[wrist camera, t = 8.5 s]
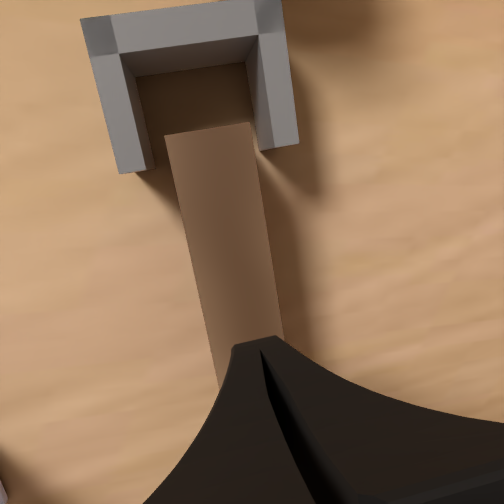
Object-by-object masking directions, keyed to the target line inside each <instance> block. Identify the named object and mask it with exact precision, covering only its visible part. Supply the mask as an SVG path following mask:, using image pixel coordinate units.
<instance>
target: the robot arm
mask: <svg viewBox="0 0 504 504" xmlns="http://www.w3.org/2000/svg"><path fill="white" fill-rule="evenodd" d="M7 501H8V497H7V495H6V492H5V490H4V487H3V485H2V483H1V480H0V504H6V503H7ZM143 504H504V423H499V422H493V421H486V420H480V419H474V418H467V417H462V416H457V415H453V414H449V413H444V412H440V411H435V410H431V409H427V408H423V407H420V406H416V405H412V404H409V403H406V402H403V401H400V400H396V399H393V398H390V397H387V396H384V395H381V394H379V393H376V392H373V391H371V390H368V389H366V388H364V387H361V386H359V385H357V384H354V383H352V382H350V381H348V380H346V379H344V378H341V377H339V376H338V375H336V374H334V373H332V372H330V371H328V370H327V369H325V368H323V367H321V366H320V365H318V364H316V363H315V362H313V361H312V360H310V359H309V358H307V357H306V356H304V355H303V354H301V353H300V352H298V351H297V350H296V349H294V348H293V347H291V346H290V345H289V344H287V343H286V342H285V341H283V340H282V339H281V338H279V337H278V336H276V335H273V336H269V337H265V338H260V339H256V340H252V341H247V342H243V343H239V344H234V346H233V347H232V348H231V357H230V362H229V365H228V369H227V372H226V375H225V378H224V381H223V384H222V387H221V389H220V391H219V394H218V396H217V398H216V401H215V403H214V405H213V407H212V409H211V411H210V413H209V415H208V417H207V419H206V421H205V423H204V424H203V426H202V428H201V430H200V431H199V433H198V435H197V436H196V438H195V439H194V441H193V442H192V444H191V445H190V447H189V448H188V450H187V451H186V453H185V454H184V456H183V457H182V458H181V460H180V461H179V463H178V464H177V465H176V467H175V468H174V469H173V470H172V471H171V473H170V474H169V475H168V476H167V477H166V479H165V480H164V481H163V482H162V483H161V484H160V486H159V487H158V488H157V489H156V490H155V491H154V492H153V493H152V494H151V496H150V497H149V498H148V499H147V500H146V501H145V502H144V503H143Z"/></svg>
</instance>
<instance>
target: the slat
mask: <svg viewBox="0 0 504 504" xmlns="http://www.w3.org/2000/svg"><path fill="white" fill-rule="evenodd" d="M164 137H165V142H166V146H167V151H168V156H169V160H170V165H171V169H172V174H173V179H174V183H175V188H176V192H177V197H178V201H179V206H180V211H181V215H182V220H183V224H184V229H185V234H186V238H187V243H188V247H189V252H190V256H191V261H192V266H193V270H194V275H195V279H196V284H197V289H198V293H199V298H200V302H201V307H202V312H203V316H204V321H205V325H206V330H207V334H208V339H209V344H210V348H211V353H212V357H213V362H214V367H215V371H216V376H217V380H218V385H219V389H221V387H222V384H223V381H224V378H225V375H226V372H227V369H228V365H229V362H230V357H231V348H232V347H233V346H234V344H239V343H243V342H247V341H252V340H256V339H260V338H265V337H269V336H273V335H276V336H278V337H279V338H281V339H282V340H283V341H285V340H284V333H283V327H282V321H281V315H280V308H279V302H278V296H277V289H276V283H275V277H274V271H273V264H272V258H271V252H270V245H269V239H268V233H267V227H266V220H265V214H264V208H263V201H262V195H261V189H260V183H259V176H258V170H257V164H256V157H255V151H254V145H253V138H252V132H251V126H250V122H244V123H238V124H232V125H226V126H220V127H214V128H208V129H201V130H195V131H189V132H183V133H177V134H171V135H165V136H164Z"/></svg>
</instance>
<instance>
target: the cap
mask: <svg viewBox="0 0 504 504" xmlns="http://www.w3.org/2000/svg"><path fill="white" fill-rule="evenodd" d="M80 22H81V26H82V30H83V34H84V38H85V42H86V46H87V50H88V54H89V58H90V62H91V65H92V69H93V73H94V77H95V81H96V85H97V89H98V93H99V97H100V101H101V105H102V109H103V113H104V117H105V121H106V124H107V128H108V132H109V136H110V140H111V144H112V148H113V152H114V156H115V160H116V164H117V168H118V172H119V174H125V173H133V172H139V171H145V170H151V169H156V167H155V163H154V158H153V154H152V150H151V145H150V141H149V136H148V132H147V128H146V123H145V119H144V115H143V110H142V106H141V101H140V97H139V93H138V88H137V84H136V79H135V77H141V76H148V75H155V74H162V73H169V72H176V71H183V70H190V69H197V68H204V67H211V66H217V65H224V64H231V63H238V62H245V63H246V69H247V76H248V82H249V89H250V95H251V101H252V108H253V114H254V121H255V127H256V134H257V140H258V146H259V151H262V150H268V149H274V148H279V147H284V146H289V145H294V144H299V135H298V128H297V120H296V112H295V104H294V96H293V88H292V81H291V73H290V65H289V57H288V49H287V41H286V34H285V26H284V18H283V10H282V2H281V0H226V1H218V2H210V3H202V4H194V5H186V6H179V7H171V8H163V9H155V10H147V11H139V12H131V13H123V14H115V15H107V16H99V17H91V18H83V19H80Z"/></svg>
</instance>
